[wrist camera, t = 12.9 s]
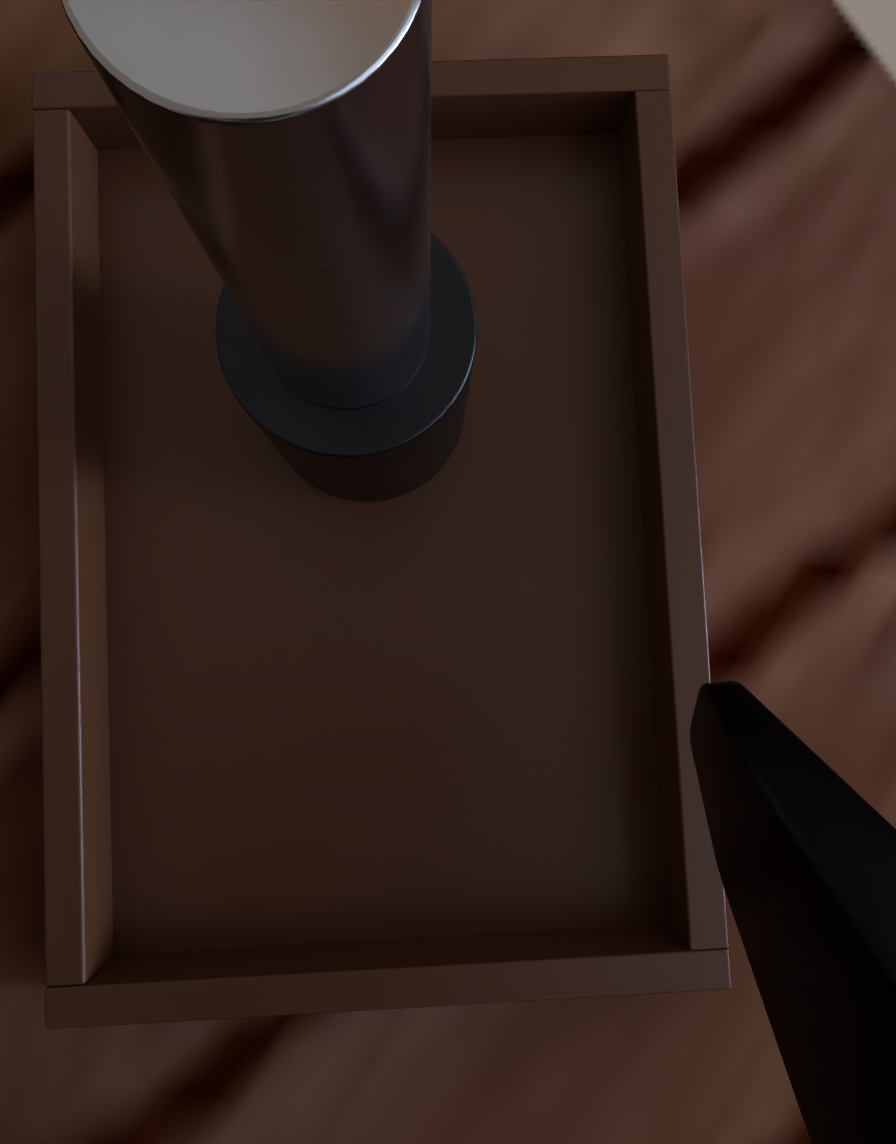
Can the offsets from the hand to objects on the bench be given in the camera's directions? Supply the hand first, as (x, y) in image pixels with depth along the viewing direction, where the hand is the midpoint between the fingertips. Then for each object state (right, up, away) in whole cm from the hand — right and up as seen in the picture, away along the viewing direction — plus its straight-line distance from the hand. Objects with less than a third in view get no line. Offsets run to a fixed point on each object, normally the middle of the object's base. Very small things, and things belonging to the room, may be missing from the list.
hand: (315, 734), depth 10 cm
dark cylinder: (0, +6, +9) cm, 11 cm away
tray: (0, +3, +10) cm, 10 cm away
